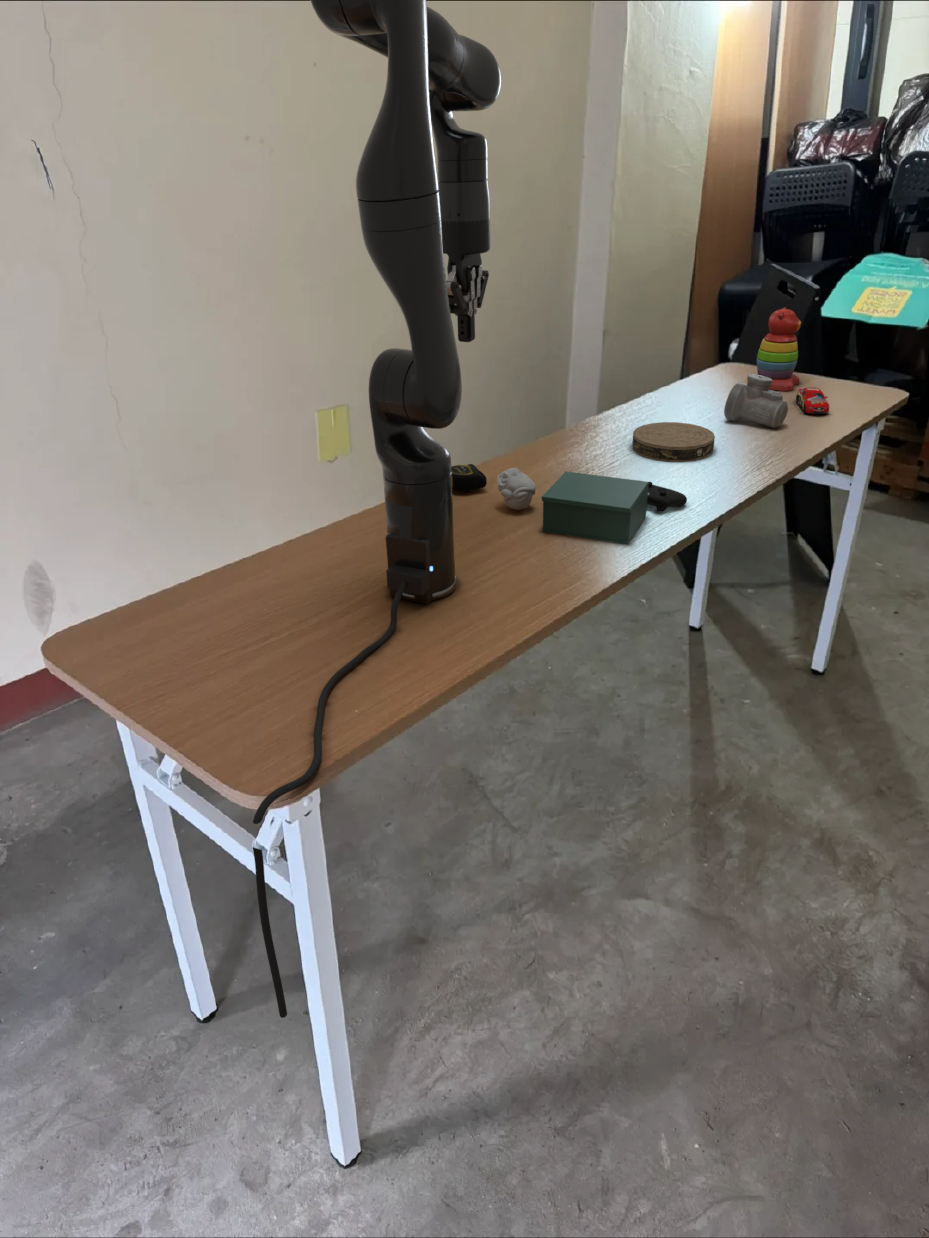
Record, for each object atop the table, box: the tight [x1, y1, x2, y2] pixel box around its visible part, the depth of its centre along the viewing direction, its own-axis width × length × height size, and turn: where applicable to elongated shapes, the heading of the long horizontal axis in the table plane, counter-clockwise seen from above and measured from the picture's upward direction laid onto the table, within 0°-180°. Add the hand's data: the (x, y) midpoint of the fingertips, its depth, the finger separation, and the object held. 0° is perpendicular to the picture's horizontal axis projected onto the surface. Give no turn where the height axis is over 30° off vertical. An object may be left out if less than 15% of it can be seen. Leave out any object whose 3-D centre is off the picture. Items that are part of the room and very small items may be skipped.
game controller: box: [647, 481, 688, 513], centre depth 148 cm, size 10×5×6 cm
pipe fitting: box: [723, 373, 789, 429], centre depth 184 cm, size 12×8×10 cm
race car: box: [795, 387, 830, 415], centre depth 194 cm, size 13×5×4 cm, turn 171°
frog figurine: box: [496, 467, 536, 511], centre depth 147 cm, size 6×7×7 cm
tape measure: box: [451, 463, 488, 493], centre depth 157 cm, size 7×7×4 cm
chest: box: [542, 487, 648, 545], centre depth 141 cm, size 11×14×6 cm
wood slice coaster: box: [631, 421, 716, 463], centre depth 173 cm, size 16×16×3 cm
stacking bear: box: [756, 307, 802, 392], centre depth 209 cm, size 11×10×18 cm
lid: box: [541, 471, 650, 513], centre depth 139 cm, size 12×14×1 cm
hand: (466, 340), depth 132 cm, fingers closed
